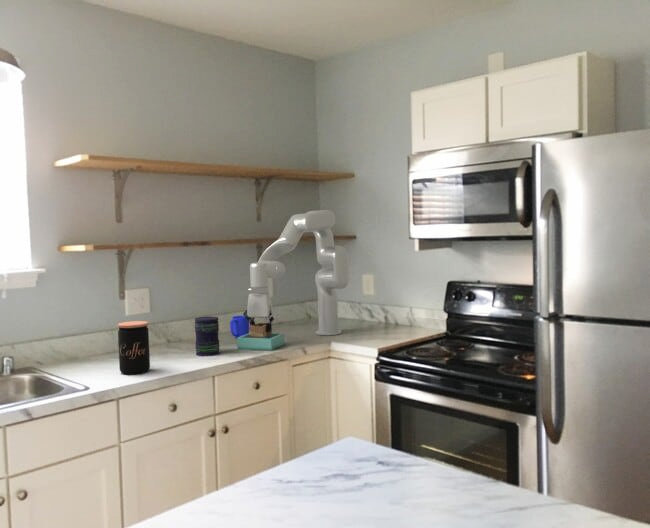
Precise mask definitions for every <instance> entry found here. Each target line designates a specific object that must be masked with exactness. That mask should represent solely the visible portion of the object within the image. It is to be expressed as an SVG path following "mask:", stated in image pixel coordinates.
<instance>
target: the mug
mask: <svg viewBox="0 0 650 528" xmlns="http://www.w3.org/2000/svg"><path fill="white" fill-rule="evenodd" d="M229 325H230V334H231V335H232V337H234V338H236V339H237V338H238V337H241V336H243V335H246V334H249V333H250V331H249V326H250V323H249V321H248V320H247V319H246V317H245V316H244V315H236V316H232V318H231V320H230V321H229Z"/></svg>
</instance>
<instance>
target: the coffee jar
mask: <svg viewBox="0 0 650 528" xmlns="http://www.w3.org/2000/svg"><path fill="white" fill-rule="evenodd" d="M148 325H149V322H148V321H146V320H145V321H144V320H132V321H124V322H120V323H117V327H118V331H117V338H118V339H117V340H118V361H119V362H118V363H119V371H120V372H121V374H122V375H128V376H131V375H133V376H134V375H141V374H145V373H148V372H149V370H150V369H151V360H150V359H151V358H150V356H151V355H150V354H151V353H150V337H149V327H148Z"/></svg>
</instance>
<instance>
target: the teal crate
mask: <svg viewBox="0 0 650 528" xmlns="http://www.w3.org/2000/svg"><path fill="white" fill-rule="evenodd" d="M285 345H286V344H285V333H283V332H282V333H279V332H278V333H277V332H272V335H270V336H267V337H265V338H250V332H249V334H246V335H243V336H241V337H238V338H236V347H237V350H244V351H263V352H264V351H265V352H266V351H267V352H272V351H275V350H277V349H279V348H280V347H282V346H285Z"/></svg>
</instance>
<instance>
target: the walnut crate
mask: <svg viewBox="0 0 650 528" xmlns="http://www.w3.org/2000/svg"><path fill="white" fill-rule="evenodd" d="M266 323H267V322H257V323H255V324H254V325H252V326H250V325H249V333H250V338H265V337H267V336H270V335H272V333H273V328H272V327H273V326H272V325H273V324H272V323H273V322H271V328H272V329H271V332H266Z"/></svg>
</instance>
